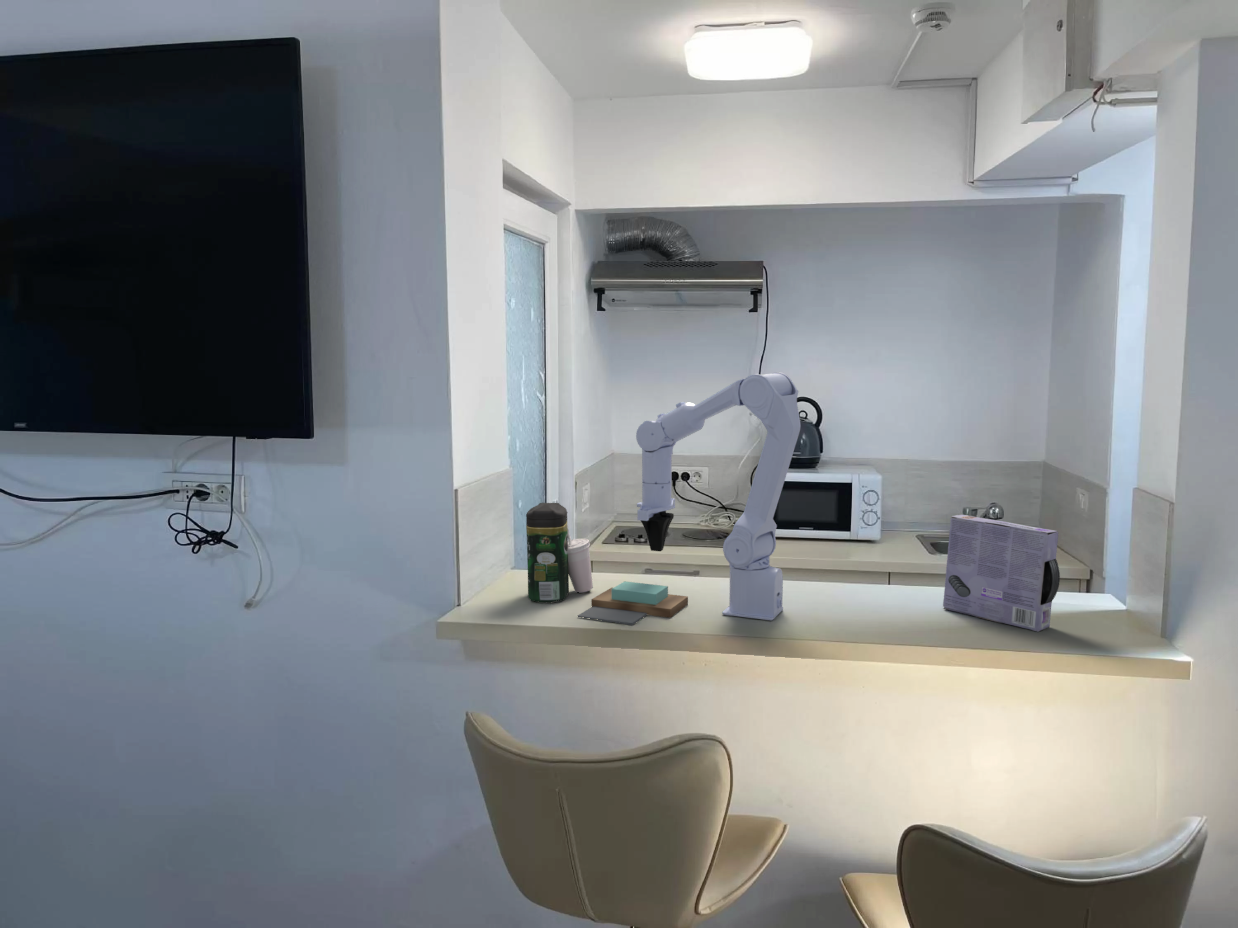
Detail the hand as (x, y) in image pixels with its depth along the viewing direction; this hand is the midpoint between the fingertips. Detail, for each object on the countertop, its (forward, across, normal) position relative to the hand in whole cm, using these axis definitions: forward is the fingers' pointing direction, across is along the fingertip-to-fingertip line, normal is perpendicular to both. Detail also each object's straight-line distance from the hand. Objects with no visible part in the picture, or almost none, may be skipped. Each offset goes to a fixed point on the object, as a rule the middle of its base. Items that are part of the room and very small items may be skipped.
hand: (656, 550), depth 181 cm
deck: (+9, +8, 0) cm, 12 cm away
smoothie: (+9, +4, -14) cm, 17 cm away
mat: (+9, +16, -2) cm, 19 cm away
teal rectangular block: (+7, +8, 0) cm, 11 cm away
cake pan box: (+9, -10, +62) cm, 63 cm away
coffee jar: (+9, +10, -19) cm, 23 cm away
